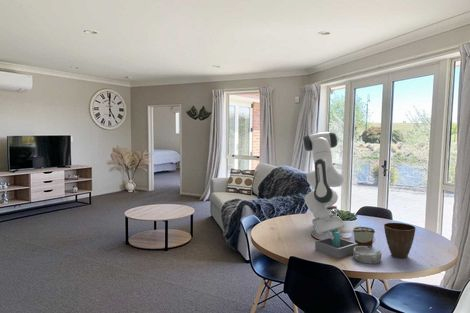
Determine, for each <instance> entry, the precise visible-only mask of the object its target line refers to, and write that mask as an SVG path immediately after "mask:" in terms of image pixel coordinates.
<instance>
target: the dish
mask: <svg viewBox="0 0 470 313" xmlns="http://www.w3.org/2000/svg"><path fill="white" fill-rule="evenodd" d="M352 255H353V259H354V260H356V261H357V262H360V263H363V264H371V265H374V264H379V263H380V262H381V261H382V252H381V250H378V251H377V252H373V251H372V250H371V249H370V248H369V247H367V246H357V247H355V248H354V249H353V254H352Z"/></svg>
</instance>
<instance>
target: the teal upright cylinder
mask: <svg viewBox="0 0 470 313" xmlns="http://www.w3.org/2000/svg"><path fill="white" fill-rule="evenodd" d="M340 233H341V231H340V232H339V231H332V232H331V234H332V235H334V236H335V239H333V240H332V246H333V247H336V248H341V247H340V238H341V237H340Z"/></svg>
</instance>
